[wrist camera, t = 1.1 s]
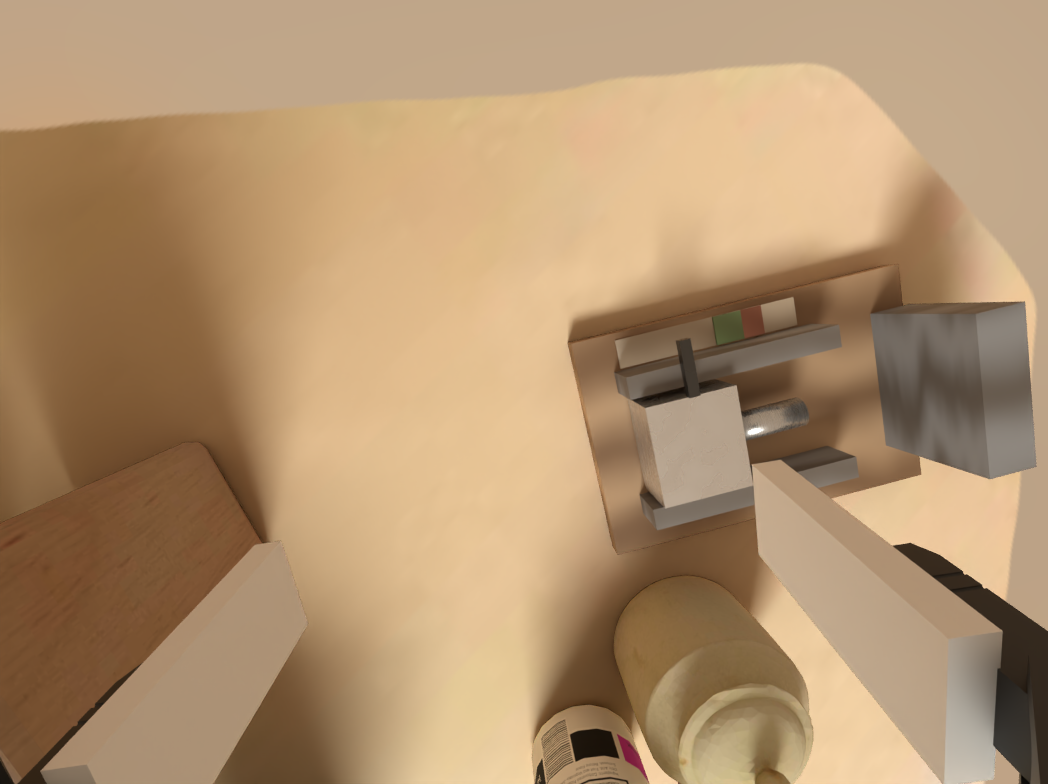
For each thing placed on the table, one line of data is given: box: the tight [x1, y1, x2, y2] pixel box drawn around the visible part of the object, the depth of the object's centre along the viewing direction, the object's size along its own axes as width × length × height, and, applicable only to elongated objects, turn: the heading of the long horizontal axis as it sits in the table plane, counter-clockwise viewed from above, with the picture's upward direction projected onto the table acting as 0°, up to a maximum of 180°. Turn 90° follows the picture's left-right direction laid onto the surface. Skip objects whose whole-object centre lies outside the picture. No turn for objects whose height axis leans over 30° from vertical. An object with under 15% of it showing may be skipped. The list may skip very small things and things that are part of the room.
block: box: [0, 442, 262, 784], centre depth 27 cm, size 10×10×20 cm
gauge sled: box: [627, 338, 809, 508], centre depth 34 cm, size 10×11×5 cm
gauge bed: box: [568, 264, 1036, 555], centre depth 34 cm, size 16×24×10 cm, turn 103°
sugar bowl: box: [614, 576, 813, 784], centre depth 34 cm, size 15×11×15 cm
